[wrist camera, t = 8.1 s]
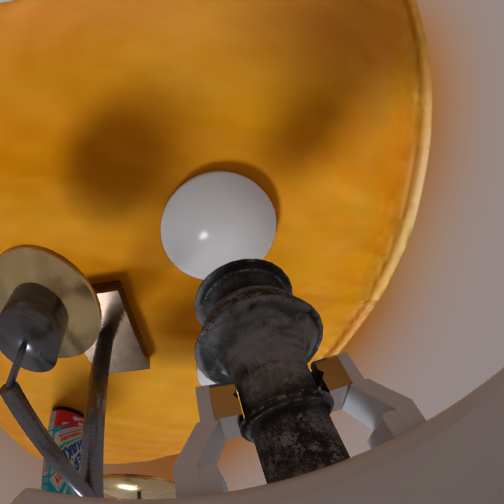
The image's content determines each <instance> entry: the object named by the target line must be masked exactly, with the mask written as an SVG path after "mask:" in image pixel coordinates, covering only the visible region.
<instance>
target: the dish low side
mask: <svg viewBox="0 0 504 504" xmlns="http://www.w3.org/2000/svg"><path fill="white" fill-rule="evenodd" d="M275 233H276V215H275V210H274V207H273V205H272V202H271V201H270V199H269V197H268V196H267V195H266V193H265V192H264V191H263V190H262V189H261V188H260V187H259V186H258V185H257V184H256V183H255V182H254V181H252V180H251V179H250V178H248V177H246V176H244V175H242V174H239V173H236V172H231V171H222V170H218V171H209V172H204V173H201V174H198V175H196V176H194V177H192V178H190V179H188V180H187V181H185V182H184V183H182V184H181V185H180V186H179V187H178V188H177V189H176V190H175V191H174V192H173V193H172V195H171V196H170V198H169V199H168V201H167V203H166V205H165V207H164V210H163V214H162V219H161V240H162V244H163V247H164V250H165V252H166V254H167V256H168V257H169V259H170V260H171V261H172V262H173V264H174V265H175V266H177V267H178V268H179V269H180V270H181V271H183V272H184V273H186V274H188V275H190V276H192V277H195V278H198V279H202V280H205V278H206V277H207V276H208V275H209V274H210V273H212V272H213V271H214V270H216V269H217V268H218V267H220V266H222V265H225V264H227V263H229V262H231V261H236V260H240V259H261V260H262V259H263V258H264V257H265V255H266V254H267V253H268V251H269V249H270V247H271V245H272V243H273V240H274V237H275Z"/></svg>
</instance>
